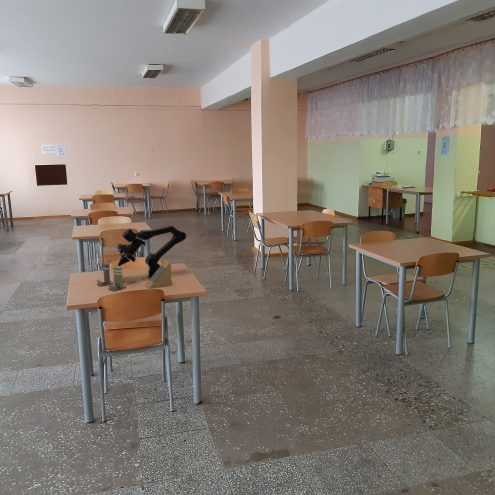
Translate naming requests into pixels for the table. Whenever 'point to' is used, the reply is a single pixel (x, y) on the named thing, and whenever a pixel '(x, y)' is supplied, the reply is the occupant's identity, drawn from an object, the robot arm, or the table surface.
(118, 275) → the green striped block
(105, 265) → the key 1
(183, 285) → the table surface
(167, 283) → the sandwich container
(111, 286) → the key rack
